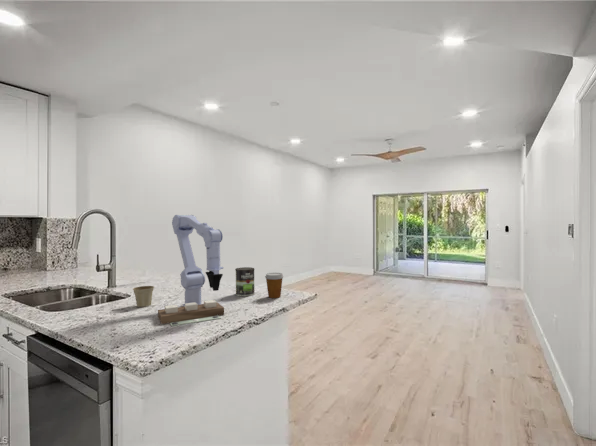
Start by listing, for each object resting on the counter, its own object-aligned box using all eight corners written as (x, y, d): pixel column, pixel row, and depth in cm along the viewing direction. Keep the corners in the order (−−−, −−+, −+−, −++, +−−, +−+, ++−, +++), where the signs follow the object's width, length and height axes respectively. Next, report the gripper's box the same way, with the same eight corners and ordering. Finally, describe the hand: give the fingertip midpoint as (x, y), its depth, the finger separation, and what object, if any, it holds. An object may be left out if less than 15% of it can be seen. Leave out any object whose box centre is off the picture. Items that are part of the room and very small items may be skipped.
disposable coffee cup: (283, 298, 169) (282, 275, 169) (264, 299, 169) (264, 275, 169) (284, 294, 178) (283, 272, 178) (266, 294, 178) (266, 272, 178)
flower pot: (128, 307, 156) (128, 288, 156) (144, 302, 165) (144, 285, 165) (143, 309, 152) (143, 290, 152) (158, 304, 161) (158, 286, 161)
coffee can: (257, 295, 178) (257, 268, 178) (238, 297, 173) (238, 270, 173) (251, 291, 187) (250, 266, 187) (233, 293, 183) (232, 268, 182)
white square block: (203, 308, 145) (203, 301, 145) (213, 307, 147) (213, 299, 147) (206, 311, 141) (206, 303, 141) (216, 309, 143) (216, 302, 143)
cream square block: (164, 314, 137) (164, 306, 137) (176, 312, 139) (175, 304, 139) (166, 316, 133) (166, 308, 133) (177, 315, 135) (177, 307, 135)
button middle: (184, 311, 141) (184, 303, 141) (195, 309, 143) (195, 302, 143) (186, 313, 137) (186, 305, 137) (197, 312, 139) (197, 304, 139)
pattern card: (169, 323, 130) (169, 322, 130) (217, 316, 139) (217, 315, 139) (171, 326, 126) (171, 325, 126) (220, 318, 136) (220, 317, 136)
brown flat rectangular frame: (157, 317, 139) (157, 310, 139) (217, 308, 151) (216, 302, 151) (161, 324, 129) (161, 316, 129) (224, 314, 141) (224, 307, 141)
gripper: (226, 258, 138) (226, 290, 138) (219, 255, 152) (220, 285, 152) (208, 259, 136) (209, 292, 135) (203, 256, 149) (204, 286, 149)
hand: (214, 288), depth 143 cm, fingers open, 7 cm apart
